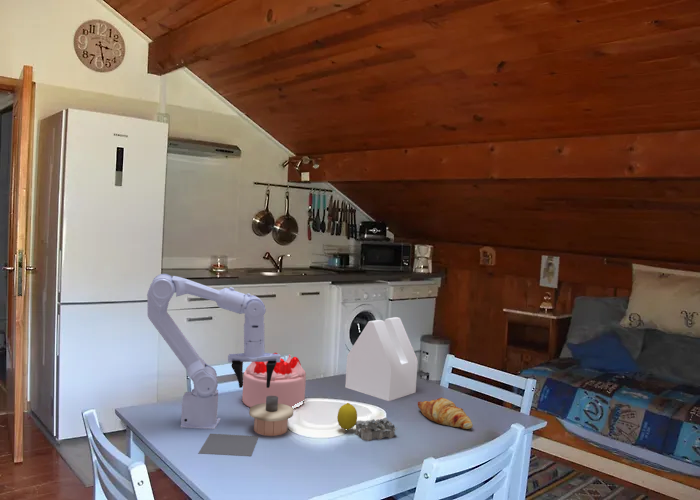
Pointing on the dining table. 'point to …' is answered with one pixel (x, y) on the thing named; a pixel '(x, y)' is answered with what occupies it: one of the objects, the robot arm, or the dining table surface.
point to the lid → (271, 410)
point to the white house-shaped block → (382, 361)
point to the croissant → (445, 413)
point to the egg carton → (375, 429)
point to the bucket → (270, 427)
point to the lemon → (347, 416)
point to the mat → (229, 445)
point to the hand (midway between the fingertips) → (254, 386)
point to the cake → (274, 382)
